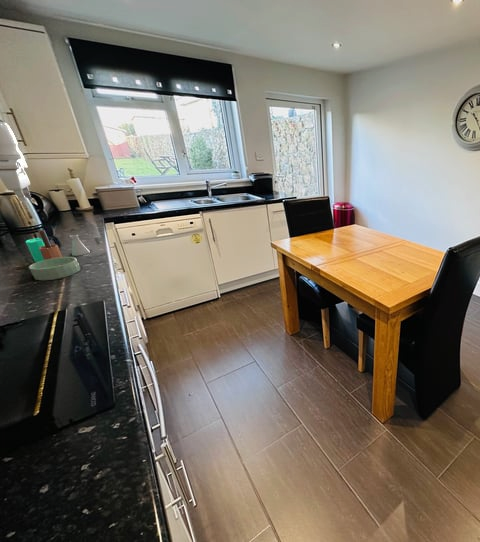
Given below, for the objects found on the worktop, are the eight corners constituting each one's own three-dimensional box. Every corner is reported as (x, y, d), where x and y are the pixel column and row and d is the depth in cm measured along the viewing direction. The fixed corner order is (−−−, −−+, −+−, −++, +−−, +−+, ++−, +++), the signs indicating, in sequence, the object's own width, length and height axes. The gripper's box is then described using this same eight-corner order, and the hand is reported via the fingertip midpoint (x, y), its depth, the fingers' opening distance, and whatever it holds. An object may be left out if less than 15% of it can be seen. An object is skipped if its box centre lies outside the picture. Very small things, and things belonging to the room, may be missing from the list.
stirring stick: (51, 264, 129) (36, 231, 123) (52, 263, 131) (37, 230, 124) (59, 263, 131) (44, 230, 125) (60, 262, 132) (45, 229, 126)
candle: (38, 259, 136) (27, 235, 131) (55, 257, 139) (45, 234, 134) (32, 263, 131) (20, 239, 127) (50, 261, 134) (39, 237, 129)
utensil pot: (46, 268, 127) (38, 249, 124) (48, 264, 131) (40, 246, 128) (64, 265, 131) (56, 247, 127) (65, 261, 135) (58, 243, 131)
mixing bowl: (31, 284, 113) (25, 272, 110) (37, 273, 123) (32, 261, 120) (79, 275, 121) (74, 263, 119) (81, 265, 131) (77, 254, 129)
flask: (93, 253, 145) (86, 234, 141) (74, 257, 140) (66, 238, 136) (87, 250, 149) (80, 232, 145) (69, 254, 143) (61, 235, 139)
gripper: (4, 162, 115) (19, 196, 121) (-11, 164, 101) (7, 203, 106) (26, 161, 119) (40, 195, 124) (15, 164, 105) (32, 202, 110)
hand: (25, 199), depth 115 cm, fingers open, 8 cm apart
